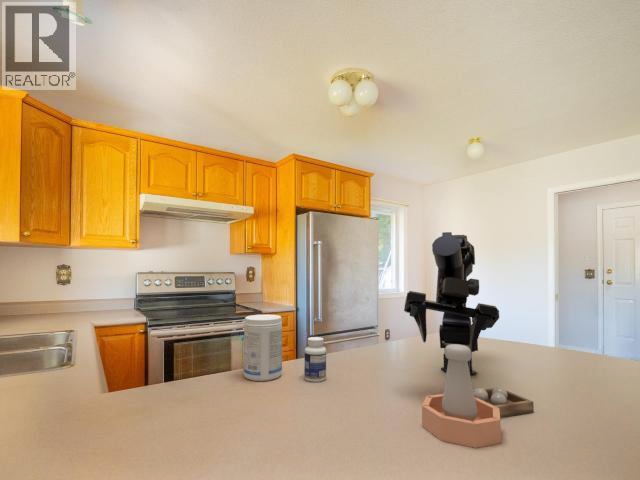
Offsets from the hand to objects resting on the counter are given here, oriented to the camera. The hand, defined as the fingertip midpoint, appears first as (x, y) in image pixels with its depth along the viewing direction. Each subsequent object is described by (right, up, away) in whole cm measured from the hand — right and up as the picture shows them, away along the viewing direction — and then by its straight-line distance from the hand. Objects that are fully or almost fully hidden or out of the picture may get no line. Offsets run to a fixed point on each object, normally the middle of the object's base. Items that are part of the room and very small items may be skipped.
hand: (447, 346), depth 69 cm
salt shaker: (-2, -10, -11) cm, 15 cm away
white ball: (+10, -9, -1) cm, 14 cm away
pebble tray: (+9, -11, -2) cm, 14 cm away
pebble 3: (+8, -9, -4) cm, 13 cm away
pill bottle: (-27, -13, +14) cm, 33 cm away
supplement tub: (-41, -13, +16) cm, 45 cm away
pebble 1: (+6, -9, -1) cm, 11 cm away
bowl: (-2, -10, -11) cm, 15 cm away
